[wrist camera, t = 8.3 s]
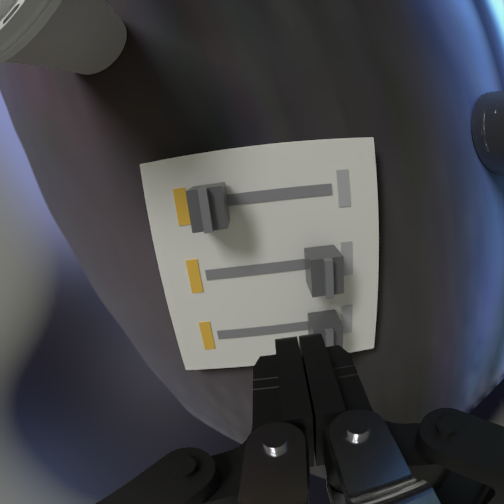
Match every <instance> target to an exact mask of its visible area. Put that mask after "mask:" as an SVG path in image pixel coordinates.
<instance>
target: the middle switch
mask: <svg viewBox="0 0 504 504" xmlns="http://www.w3.org/2000/svg"><path fill="white" fill-rule="evenodd" d="M304 257H305V272H306V283H307V285H308V288H309V290H310V293H311V295H312V298H313V297H320V296H325V298H326V299H333V298H334V295H335V294H342V293H344V257H343V255H342V254H341V253H340V251H339V250H338V249H337V248H336V247H335V246H334V245H326V246H317V247H308V248H304Z"/></svg>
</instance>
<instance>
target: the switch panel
mask: <svg viewBox="0 0 504 504" xmlns="http://www.w3.org/2000/svg"><path fill="white" fill-rule="evenodd" d="M140 170H141V177H142V183H143V189H144V195H145V201H146V206H147V212H148V217H149V222H150V228H151V233H152V238H153V243H154V247H155V252H156V257H157V261H158V266H159V270H160V275H161V279H162V283H163V287H164V292H165V296H166V300H167V304H168V308H169V311H170V315H171V319H172V323H173V327H174V330H175V334H176V338H177V341H178V345H179V348H180V352H181V355H182V359H183V362H184V365H185V369H186V370H199V369H217V368H231V367H244V366H254V365H255V364H256V362H257V360H258V359H259V357H260V356H267V355H275V354H276V348H275V339H280V338H287V337H295V336H297V338H298V343H299V336H301V335H308V314H307V313H312V312H319V311H326V310H333V309H335V310H336V312H337V314H338V317H339V319H340V321H341V323H342V325H343V349H345V350H346V351H347V352H348V353H351V352H356V351H362V350H367V349H372V348H374V341H375V329H376V316H377V298H378V271H379V218H378V191H377V174H376V160H375V148H374V138H373V137H370V138H342V139H324V140H309V141H296V142H285V143H275V144H265V145H256V146H248V147H240V148H232V149H225V150H218V151H211V152H205V153H198V154H192V155H186V156H180V157H175V158H169V159H164V160H159V161H154V162H149V163H144V164H140ZM221 182H225V184H226V192H227V199H228V206H229V213H230V223H229V226H228V229H222V230H214V232H213V233H206V234H204V232H198V233H192V228H191V222H190V216H189V210H188V204H187V198H186V190H188V189H190V188H192V187H193V186H200V185H207V184H214V183H221ZM326 245H334V246H335V247H336V248H337V249H338V250H339V251H340V253H341V254H342V255H343V257H344V293H342V294H335V295H334V298H333V299H326V298H325V296H320V297H313V298H312V295H311V293H310V290H309V288H308V285H307V283H306V272H305V257H304V248H308V247H317V246H326Z"/></svg>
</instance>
